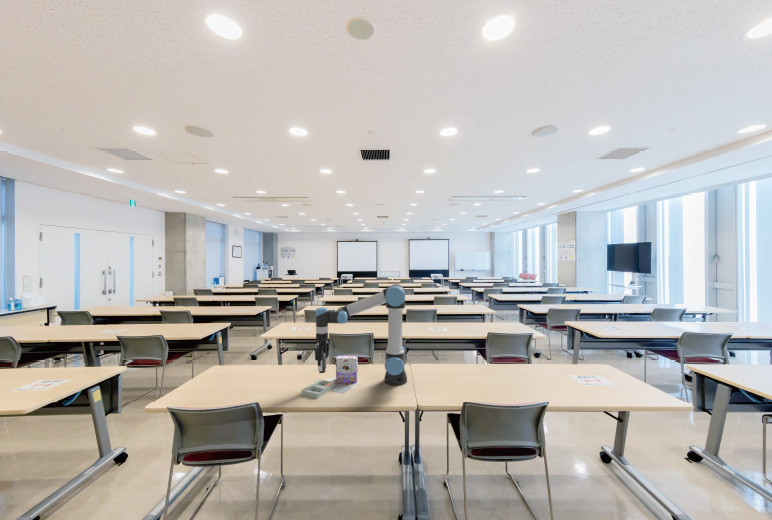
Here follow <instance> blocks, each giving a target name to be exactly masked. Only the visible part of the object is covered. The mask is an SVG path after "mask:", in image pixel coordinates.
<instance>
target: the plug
mask: <svg viewBox="0 0 772 520" xmlns="http://www.w3.org/2000/svg"><path fill="white" fill-rule="evenodd" d="M321 360H322V371H318V373H319V374H324V373H326V369H325V352H322V357H321Z"/></svg>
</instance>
